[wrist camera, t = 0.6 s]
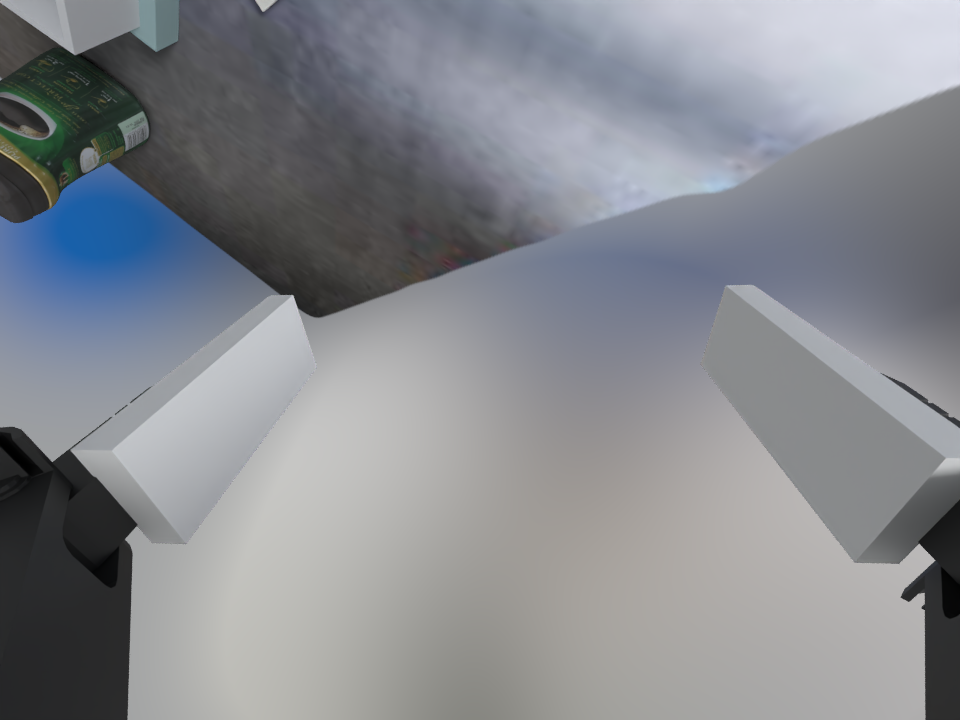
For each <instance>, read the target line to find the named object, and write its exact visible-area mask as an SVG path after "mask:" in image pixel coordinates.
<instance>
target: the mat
mask: <svg viewBox="0 0 960 720" xmlns="http://www.w3.org/2000/svg"><path fill="white" fill-rule="evenodd" d="M255 1H256V2H257V4H258V5H259V7H260V8H261V10H262V11H263V12H264V11H266V10H268V9H269V8H270V7H271V6H272V5H273V4H274V3H276V2H277V1H278V0H255Z"/></svg>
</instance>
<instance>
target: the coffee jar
mask: <svg viewBox="0 0 960 720" xmlns="http://www.w3.org/2000/svg"><path fill="white" fill-rule="evenodd" d="M149 133H150V123H149V120H148V117H147V115H146V113H145V111H144V109H143V107H142V106H141V104H140V102H139V101H138V100H137V99H136V98H135V97H134V96H133V95H132V94H131V93H130V92H129V91H128V90H127V89H125V88H124V87H123V86H122V85H120V84H119V83H118V82H117V81H115V80H114V79H113V78H111V77H110V76H109V75H107V74H106V73H104V72H103V71H102V70H100V69H99V68H97V67H96V66H94V65H93V64H92V63H90V62H89V61H87V60H86V59H84V58H82V57H81V56H79V55H78V54H77V55H74V54H72V53H71V52H69V51H68V50H67V49H64V48H53V49H51V50H49V51H47V52H45V53H43V54H41V55H39V56H38V57H36V58H34V59H33V60H31V61H30V62H28V63H27V64H25V65H24V66H22V67H21V68H19V69H18V70H17V71H15V72H14V73H12V74H10V75H9V76H7V77H6V78H4V79H2V80H1V81H0V216H2V217H4V218H5V219H7V220H9V221H10V222H13V223H20V222H24V221H27V220H29V219H32V218H33V216H36V215H38V214H40V213H42V212H44V211H46V210H48V209H51V208H52V207H53V206H54V205H55V204H56V202H57V201H58V199H59V196H60V193H61V191H62V190H63V189H64V188H65V187H67V185H69V184H70V183H72V182H74V181H75V180H76V179H78V178H80V177H82V176H83V175H85V174H87V173H89V172H91V171H93V170H95V169H96V168H98V167H100V166H102V165H104V164H106V163H108V162H110V161H113V160H115V159H117V158H119V157H121V156H123V155H125V154H127V153H129V152H131V151H133V150H135V149H136V148H138V147H140V146H141V145H143V144H144V143H146V142H147V140H148V137H149Z"/></svg>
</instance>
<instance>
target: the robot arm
mask: <svg viewBox="0 0 960 720" xmlns="http://www.w3.org/2000/svg"><path fill="white" fill-rule="evenodd" d="M701 366H702V367H703V368H704V370H705V371H706V372H707V373H708V375H709V376H710V377H711V378H712V380H713V381H714V382H715V384H716V385H717V386H718V388H719V389H720V390H721V391H722V393H723V394H724V395H725V396H726V398H727V399H728V400H729V402H730V403H731V404H732V405H733V407H734V408H735V409H736V411H737V412H738V413H739V414H740V416H741V417H742V418H743V420H744V421H745V422H746V424H747V425H748V426H749V427H750V429H751V430H752V431H753V433H754V434H755V435H756V436H757V438H758V439H759V440H760V441H761V443H762V444H763V445H764V447H765V448H766V449H767V451H768V452H769V453H770V454H771V456H772V457H773V458H774V460H775V461H776V462H777V463H778V465H779V466H780V467H781V469H782V470H783V471H784V472H785V474H786V475H787V476H788V478H789V479H790V480H791V481H792V483H793V484H794V485H795V487H796V488H797V489H798V490H799V492H800V493H801V494H802V496H803V497H804V498H805V499H806V501H807V502H808V503H809V505H810V506H811V507H812V508H813V510H814V511H815V512H816V514H817V515H818V516H819V517H820V519H821V520H822V521H823V523H824V524H825V525H826V527H827V528H828V529H829V530H830V532H831V533H832V534H833V536H834V537H835V538H836V539H837V541H838V542H839V543H840V545H841V546H842V547H843V548H844V550H845V551H846V552H847V553H848V555H849V556H850V557H851V559H852V560H853V561H854V562H856V563H891V564H899V563H900V562H901V561H902V560H903V559H904V558H905V557H906V556H907V555H908V554H909V553H910V552H911V551H912V550H913V549H914V548H915V547H916V546H917V545H918V544H920V545H921V546H922V547H923V548H924V549H925V550H926V551H927V552H928V553H929V554H930V555H931V556H932V557H933V558H934V559H935V560H936V561H935V562H934V563H933V564H931V565H930V566H929V567H928V568H927V569H926V570H925V571H924V572H923V573H922V574H921V575H920V576H918V578H916V579H915V580H914V581H913V582H912V583H911V584H910V585H909V586H908V587H907V588H905V589H904V591H903V593H902V596H901V598H903V599H905V600H906V601H908V602H909V601H911V600H912V599H913V598H914V597H915V596H916V595H917V594H919V593H925V605H923V606H922V609H924V610H925V689H926V690H925V703H926V704H925V710H926V720H960V421H958V420H957V419H955V418H954V417H953V418H951V417H948V413H947V412H945V411H944V410H942V409H941V408H939V407H938V406H936V405H935V404H933V403H928V400H927V399H926V398H924V397H923V396H922V395H920V394H918V393H917V392H916V391H914V390H913V389H911V388H910V387H908V386H907V385H905V384H904V383H902V382H899V381H897V380H895V379H893V378H890V377H888V376H886V375H884V374H882V373H879V372H878V371H877V370H875V369H874V368H872V367H871V366H869V365H868V364H866V363H865V362H864V361H862V360H861V359H859V358H858V357H856V356H855V355H853V354H852V353H851V352H849V351H848V350H846V349H845V348H843V347H842V346H840V345H839V344H837V343H836V342H835V341H833V340H832V339H830V338H829V337H828V336H826V335H824V334H823V333H822V332H820V331H819V330H817V329H816V328H815V327H813V326H812V325H810V324H809V323H807V322H806V321H804V320H803V319H802V318H800V317H799V316H797V315H796V314H794V313H793V312H791V311H790V310H788V309H787V308H786V307H784V306H783V305H781V304H780V303H778V302H777V301H775V300H774V299H773V298H771V297H770V296H768V295H767V294H765V293H764V292H762V291H761V290H760V289H758V288H757V287H755V286H754V285H736V286H735V285H734V286H733V285H731V286H725V289H724V292H723V296H722V299H721V302H720V305H719V309H718V311H717V314H716V318H715V321H714V324H713V327H712V330H711V333H710V336H709V339H708V343H707V346H706V349H705V352H704V355H703V358H702V361H701ZM316 368H317V365H316V362H315V359H314V356H313V353H312V351H311V347H310V344H309V341H308V338H307V336H306V332H305V330H304V326H303V324H302V321H301V317H300V315H299V311H298V308H297V305H296V302H295V299H294V297H293V295H276V296H275V295H272V296H269V297H268V298H266V299H265V300H264V301H262V302H261V303H260V304H258V305H257V306H256V307H254V308H253V309H252V310H251V311H249V312H248V313H247V314H245V315H244V316H243V317H242V318H240V319H239V320H238V321H236V322H235V323H234V324H232V325H231V326H230V327H229V328H227V329H226V330H225V331H223V332H222V333H221V334H220V335H218V336H217V337H216V338H214V339H213V340H212V341H210V342H209V343H208V344H207V345H205V346H204V347H203V348H201V349H200V350H199V351H198V352H196V353H195V354H194V355H192V356H191V357H190V358H189V359H187V360H186V361H185V362H183V363H182V364H181V365H180V366H178V367H177V368H176V369H174V370H173V371H172V372H170V373H169V374H168V375H167V376H165V377H164V378H163V379H161V380H160V381H159V382H158V383H156V384H155V385H154V386H152V387H150V388H148V389H147V390H145V391H144V392H143V393H142V394H140V395H139V396H138V397H136V398H135V399H134V400H133V401H131V402H130V404H129V405H126V406H125V407H123V408H122V409H121V410H120V411H118V412H117V413H116V414H115V416H114V417H110V418H109V419H108V420H107V421H105V422H104V423H103V424H101V425H100V426H99V427H98V428H96V429H95V430H94V431H92V432H91V433H90V434H89V435H87V436H86V437H84V438H83V439H82V440H81V441H79V442H78V443H77V444H75V445H74V446H73V447H72V448H70V449H69V450H68V451H66V452H65V453H64V454H62V455H61V456H60V457H59V458H57V459H56V460H55V461H53V462H51V461H50V460H49V458H48V457H47V456H46V455H45V454H44V453H43V452H42V451H41V450H40V449H39V448H38V447H37V446H36V445H35V444H34V442H33V441H32V440H31V439H30V438H29V437H28V436H27V435H26V434H25V433H24V432H23V431H22V430H21V429H18V428H15V427H3V428H0V720H127V714H128V711H127V710H128V682H129V681H128V679H129V649H130V617H131V616H130V615H131V584H132V583H131V582H132V550H131V547H130V545H129V544H128V543H127V541H125V538H126V537H127V536H128V535H129V534H130V533H131V532H132V530H133V529H134V528H135V527H136V526H137V527H138V528H139V529H140V530H141V531H142V532H143V533H144V534H145V536H146V537H147V538H148V539H149V540H150V541H151V542H152V543H170V544H187V542H188V541H189V540H190V538H191V537H192V535H193V534H194V533H195V531H196V530H197V529H198V527H199V526H200V525H201V523H202V522H203V521H204V519H205V518H206V517H207V515H208V514H209V513H210V511H211V510H212V508H213V507H214V506H215V504H216V503H217V502H218V500H219V499H220V498H221V496H222V495H223V494H224V492H225V491H226V490H227V488H228V487H229V486H230V484H231V483H232V482H233V480H234V479H235V477H236V476H237V475H238V473H239V472H240V471H241V469H242V468H243V466H244V465H245V464H246V463H247V461H248V460H249V458H250V457H251V456H252V455H253V453H254V452H255V451H256V449H257V448H258V446H259V445H260V444H261V442H262V441H263V440H264V438H265V437H266V436H267V434H268V433H269V431H270V430H271V429H272V427H273V426H274V425H275V424H276V422H277V421H278V419H279V418H280V417H281V415H282V414H283V413H284V411H285V410H286V409H287V407H288V406H289V405H290V403H291V402H292V400H293V399H294V398H295V397H296V395H297V394H298V392H299V391H300V390H301V388H302V387H303V386H304V384H305V383H306V382H307V380H308V379H309V378H310V376H311V375H312V374H313V372H314V371H315V369H316Z"/></svg>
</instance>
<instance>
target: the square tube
mask: <svg viewBox="0 0 960 720" xmlns="http://www.w3.org/2000/svg"><path fill="white" fill-rule="evenodd" d="M0 3H2V4H3V5H4V6H6V7H7V8H9V9H10V10H11V11H13V12H14V13H16V14H17V15H19V16H20V17H21V18H23V19H24V20H26V21H27V22H28V23H30V24H31V25H33V26H34V27H35V28H37V29H38V30H40V31H41V32H43V33H44V34H45V35H47V36H48V37H50V38H51V39H52V40H54V41H55V42H57V43H58V44H60V45H61V46H62V47H64V48H65V49H67V50H68V51H69V52H71V53H72V54H74V55H77V54H79V53H82V52H84V51H86V50H88V49H91V48H93V47H95V46H97V45H100V44H102V43H104V42H106V41H109V40H111V39H113V38H115V37H118V36H120V35H122V34H124V33H127V32H129V31H130V32H131V33H132V34H134V35H135V36H136V37H138V38H139V39H140V40H141V41H143V42H144V43H145V44H147V45H148V46H149V47H151V48H152V49H153V50H154V51H156V52H157V51H159V50H161V49H163V48H165V47H167V46H169V45H171V44H173V43H175V42H177V41H178V34H179V0H0Z"/></svg>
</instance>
